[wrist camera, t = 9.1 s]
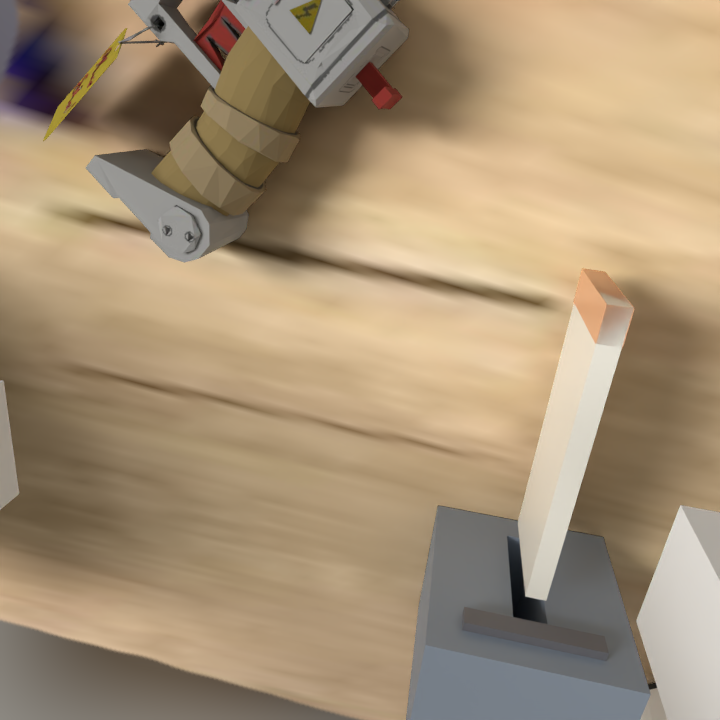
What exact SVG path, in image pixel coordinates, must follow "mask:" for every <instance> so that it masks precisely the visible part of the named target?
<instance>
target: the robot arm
mask: <svg viewBox="0 0 720 720" xmlns="http://www.w3.org/2000/svg"><path fill="white" fill-rule="evenodd" d="M18 494H19V487H18V480H17V473H16V466H15V458H14V451H13V444H12V437H11V430H10V422H9V415H8V408H7V401H6V393H5V386H4V381H2V380H0V510H1V509H2V508H3V507H4V506H5V505H7V504H8V503H9V502H10V501H11V500H13V499H14V498H15V497H16V496H17V495H18ZM636 622H637V625H638V628H639V632H640V635H641V638H642V641H643V644H644V647H645V651H646V654H647V657H648V660H649V663H650V666H651V670H652V673H653V676H654V679H655V682H656V685H657V689H658V692H659V695H660V698H661V701H662V704H663V708H664V711H665V714H666V717H667V720H720V512H715V511H710V510H705V509H699V508H694V507H688V506H683V505H680V507H679V510H678V513H677V515H676V518H675V521H674V523H673V526H672V528H671V531H670V534H669V536H668V539H667V541H666V544H665V547H664V549H663V552H662V555H661V557H660V560H659V562H658V565H657V568H656V570H655V573H654V575H653V578H652V581H651V583H650V586H649V589H648V591H647V594H646V596H645V599H644V602H643V604H642V607H641V610H640V612H639V615H638V617H637V620H636Z"/></svg>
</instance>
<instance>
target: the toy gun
mask: <svg viewBox="0 0 720 720" xmlns="http://www.w3.org/2000/svg"><path fill="white" fill-rule="evenodd" d="M398 1H399V0H221V1H220V2H219V4H218V5H217V7H216V9H215V10H214V12H213V13H212V15H211V17H210V18H209V20H208V21H207V23H206V24H205V25H204V27H203V28H202V29H201V31H200V32H199V33H198V35H197V34H196V33H195V32H194V31H193V30H192V29H191V27H190V26H189V25H188V23H187V22H186V21H185V19H184V18H183V16H182V15H181V14H180V12H179V11H178V9H177V7H178V6H179V5H180V3H181V2H182V0H131V1H130V2H129V4H128V5H129V6H130V7H131V8H132V9H133V10H134V12H135V13H136V14H137V15H138V16H139V17H140V18H141V20H142V21H143V22H144V23H145V24H146V25H147V26H148V27H147V28H145V29H144V30H142V31H140V32H138V33H136V34H134V35H132V36H130V37H128V38H126V39H124V36H125V33H126V30H127V28H126V29H124V31H123V32H122V33H121V34H120V35H119V36H118V38H117V39H116V40H115V41H114V42H113V43H112V45H111V46H110V47H109V48H108V49H107V50H106V52H105V53H104V54H103V55H102V56H101V57H100V59H99V60H98V61H97V62H96V63H95V64H94V66H93V67H92V68H91V69H90V70H89V71H88V72H87V74H86V75H85V76H84V77H83V78H82V79H81V81H80V82H79V83H78V84H77V85H76V86H75V88H74V89H73V90H72V91H71V92H70V93H69V95H68V96H67V97H66V98H65V99H64V100H63V102H62V103H61V104H60V105H59V106H58V108H57V110H56V112H55V115H54V117H53V119H52V122H51V124H50V126H49V128H48V131H47V133H46V135H45V137H44V140H46V139H47V138H48V137H49V135H50V134H51V133H52V132H53V131H54V130H55V128H56V127H57V126H58V125H59V124H60V123H61V122H62V120H63V119H64V118H65V117H66V116H67V115H68V113H69V112H70V111H71V110H72V109H73V108H74V106H75V105H76V104H77V103H78V102H79V101H80V100H81V98H82V97H83V96H84V95H85V94H86V93H87V91H88V90H89V89H90V88H91V87H92V86H93V84H94V83H95V82H96V81H97V80H98V79H99V78H100V76H101V75H102V74H103V73H104V72H105V71H106V69H107V68H108V67H109V66H110V65H111V64H112V63H113V61H114V60H115V59H116V58H117V56H118V53H119V50H120V48H121V45H122V44H128V43H159V44H158V45H157V46H156V47H158V46H159V45H160V44H161V45H164V43H167V42H169V43H175V44H176V45H177V46H178V48H179V49H180V50H181V51H182V52H183V53H184V54H185V56H186V57H187V58H188V59H189V60H190V61H191V63H192V64H193V65H194V66H195V67H196V68H197V69H198V71H199V72H200V73H201V74H202V75H203V76H204V77H205V79H206V80H207V81H208V82H209V83H210V84H211V85H210V87H209V88H208V90H207V92H206V95H205V97H204V99H203V101H202V104H201V108H202V109H203V110H204V112H203V114H202V115H201V117H198V116H196V115H194V116H193V117H192V118H191V119H190V120H189V121H188V122H187V123H186V124H185V126H184V127H183V128H182V129H181V130H180V131H179V132H178V133H177V134H176V136H175V137H174V138H173V139H172V140H171V141H170V142H169V143H170V149H171V151H170V152H169V153H168V154H167V155H166V156H165V157H164V158H163V157H161V156H159V155H157V154H155V153H153V152H151V151H149V150H147V149H144V150H136V151H127V152H119V153H111V154H102V155H95V156H94V157H93V159H92V160H91V161H90V163H89V164H88V165H87V167H86V169H87V170H88V171H89V172H90V173H91V174H92V176H93V177H94V178H95V179H96V180H97V181H98V182H99V183H100V184H101V185H102V186H103V188H104V189H105V190H106V191H107V192H108V193H109V194H110V195H111V196H112V197H113V198H120V200H121V201H122V202H123V203H124V204H125V205H126V206H127V207H128V208H129V209H130V210H131V211H132V213H133V214H134V215H135V216H136V217H137V218H138V219H139V220H140V221H141V222H142V223H143V225H144V226H145V227H146V228H147V229H148V230H149V231H150V232H151V236H150V238H151V239H152V240H153V241H154V242H155V243H156V244H157V245H158V246H159V248H160V249H161V250H162V251H163V252H164V253H165V254H166V255H167V256H168V257H170V258H173V259H176V260H179V261H182V262H188V261H191V260H195V259H199V258H201V257H203V256H205V255H207V254H209V253H211V252H212V251H214V250H216V249H218V248H220V247H222V246H224V245H226V244H228V243H230V242H232V241H234V240H236V239H238V238H240V236H241V235H242V234H243V233H244V231H245V230H246V229H247V223H248V216H249V214H248V212H247V209H248V208H249V207H250V206H251V205H252V204H253V203H254V202H255V201H256V200H257V199H258V198H259V197H260V196H261V195H262V194H263V193H264V192H265V190H266V185H265V179H266V178H267V177H268V176H269V175H270V173H271V172H272V171H273V170H274V169H275V167H276V166H277V165H278V164H279V162H288V160H289V159H290V157H291V155H292V153H293V151H294V149H295V147H296V146H297V144H298V142H299V140H300V133H299V132H298V131H297V128H298V126H299V124H300V122H301V120H302V117H303V115H304V113H305V111H306V109H307V107H308V105H309V103H310V102H311V103H312V104H313V105H314V106H315V107H316V108H317V107H330V106H343V105H344V104H345V103H346V102H347V101H348V100H349V99H350V98H351V97H352V96H353V95H354V94H355V93H356V92H357V91H358V89H359V88H360V87H361V86H362V85H363V86H364V87H365V89H366V90H367V91H368V92H369V94H370V95H371V96H372V97H373V99H372V101H373V103H374V104H375V105H376V106H377V108H378V109H383V108H384V109H391V108H392V107H393V106H394V105H395V104H396V103H397V102H398V101H399V100H400V99H401V98H402V96H401V95H400V93H399V92H398V91H397V90H396V88H395V89H393V88H392V87H391V85H390V84H389V83H388V82H387V80H386V79H385V78H384V77H383V76H382V74H381V73H380V72H379V71H378V69H379V68H380V67H381V66H382V64H383V63H384V62H385V61H386V60H387V59H388V58H389V57H390V56H391V55H392V54H393V53H394V52H395V51H396V50H397V49H398V48H399V47H400V46H401V45H402V44H403V43H404V42H405V41H406V40H407V38H408V34H409V29H408V28H407V27H406V26H405V25H404V24H403V23H402V22H401V21H400V20H399V19H398V17H397V16H396V15H395V14H394V13H393V11H392V10H391V9H392V7H393V6H394V5H395V4H396V3H397V2H398ZM148 29H150V30H151V31H152V32H153V33H154V34H155V35H156V37H157V38H158V39H159V40H160V41H158V40H156V41H135V42H126V41H129V40H131V39H133V38H134V37H136V36H138V35H139V34H141V33H142V32H144V31H146V30H148ZM236 31H237V32H238V33H239V34H240V35H241V36H239V35H238V33H237V32H236ZM123 39H124V40H123ZM119 44H120V46H119V48H118V49H117V50H116V51H115V49H116V47H117V46H118V45H119ZM216 45H217V46H218V47H219V48H220V49H221V50H222V51H223V52H225V53H226V54H227V58H226V61H224V59H223V57H222V55H221V53H220V51H219V50H218V48H217V46H216ZM114 51H115V52H114ZM44 140H43V141H44Z"/></svg>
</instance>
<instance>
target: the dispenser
mask: <svg viewBox="0 0 720 720" xmlns="http://www.w3.org/2000/svg"><path fill="white" fill-rule="evenodd" d="M650 695H651V694H650V690H649V687H648V684H647V680H646V677H645V674H644V670H643V667H642V664H641V660H640V657H639V654H638V651H637V647H636V644H635V641H634V637H633V634H632V631H631V627H630V624H629V621H628V617H627V614H626V611H625V607H624V604H623V601H622V597H621V594H620V591H619V588H618V584H617V581H616V578H615V574H614V571H613V568H612V564H611V561H610V558H609V554H608V551H607V548H606V544H605V541H604V538H603V537H600V536H595V535H589V534H584V533H579V532H574V531H569V530H567V533H566V536H565V540H564V543H563V546H562V550H561V553H560V557H559V560H558V563H557V567H556V570H555V573H554V577H553V580H552V583H551V587H550V590H549V593H548V597H547V600H546V601H545V600H540V599H535V598H530V597H525V588H524V578H523V569H522V559H521V550H520V540H519V531H518V521H516V520H511V519H506V518H501V517H496V516H490V515H485V514H480V513H475V512H470V511H464V510H459V509H454V508H449V507H444V506H438V508H437V513H436V519H435V524H434V529H433V534H432V540H431V545H430V550H429V555H428V560H427V566H426V571H425V576H424V581H423V587H422V592H421V597H420V602H419V608H418V617H417V626H416V635H415V644H414V653H413V662H412V671H411V680H410V689H409V698H408V707H407V716H406V720H640V719H641V716H642V714H643V712H644V709H645V707H646V705H647V702H648V700H649V697H650Z"/></svg>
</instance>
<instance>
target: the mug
mask: <svg viewBox="0 0 720 720" xmlns="http://www.w3.org/2000/svg"><path fill="white" fill-rule="evenodd" d="M648 687H649V690H650V694H651V695H650V697H649V700H648V702H647V705H646V707H645V709H644V712H643V714H642V716H641V719H640V720H667V717H666V714H665V711H664V708H663V704H662V701H661V698H660V695H659V692H658V689H657V685H656V683H653V684H649V685H648Z"/></svg>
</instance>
